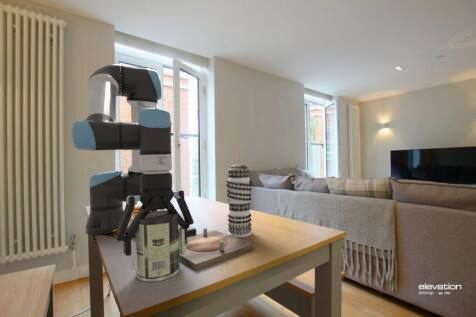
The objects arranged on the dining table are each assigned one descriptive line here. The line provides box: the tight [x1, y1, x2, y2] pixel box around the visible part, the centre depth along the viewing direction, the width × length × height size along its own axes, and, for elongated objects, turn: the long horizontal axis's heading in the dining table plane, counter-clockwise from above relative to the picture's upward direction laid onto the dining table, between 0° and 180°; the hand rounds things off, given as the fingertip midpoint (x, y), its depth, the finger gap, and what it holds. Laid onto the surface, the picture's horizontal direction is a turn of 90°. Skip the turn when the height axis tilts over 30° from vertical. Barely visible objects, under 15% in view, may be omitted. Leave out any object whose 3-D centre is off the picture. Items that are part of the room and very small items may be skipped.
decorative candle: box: [225, 164, 253, 238], centre depth 88 cm, size 9×9×25 cm
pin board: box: [179, 227, 254, 271], centre depth 74 cm, size 20×20×4 cm
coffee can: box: [134, 209, 181, 283], centre depth 60 cm, size 10×10×14 cm
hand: (158, 260), depth 60 cm, fingers open, 12 cm apart
